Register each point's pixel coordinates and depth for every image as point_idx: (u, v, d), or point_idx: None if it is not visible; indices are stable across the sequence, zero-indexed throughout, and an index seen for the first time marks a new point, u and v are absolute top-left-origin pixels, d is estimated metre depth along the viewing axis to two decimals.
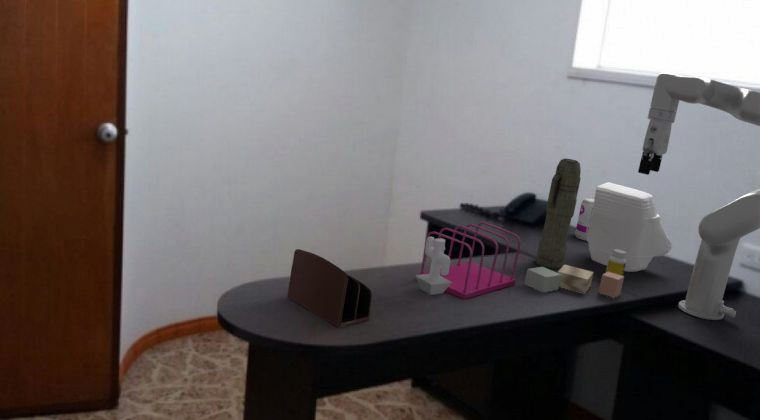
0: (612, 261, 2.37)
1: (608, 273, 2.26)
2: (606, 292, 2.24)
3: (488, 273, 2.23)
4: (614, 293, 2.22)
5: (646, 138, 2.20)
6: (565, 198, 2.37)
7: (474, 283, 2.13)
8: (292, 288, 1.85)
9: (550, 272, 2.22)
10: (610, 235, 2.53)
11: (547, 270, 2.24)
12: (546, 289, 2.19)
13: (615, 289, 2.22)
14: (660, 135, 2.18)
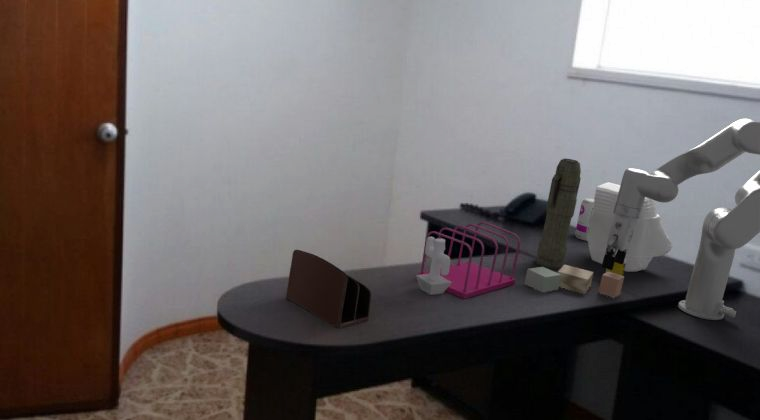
0: None
1: (608, 273, 2.26)
2: (606, 292, 2.24)
3: (488, 273, 2.24)
4: (614, 293, 2.22)
5: (611, 233, 2.18)
6: (565, 198, 2.37)
7: (474, 282, 2.13)
8: (291, 288, 1.85)
9: (550, 273, 2.22)
10: None
11: (547, 270, 2.24)
12: (546, 289, 2.19)
13: (615, 289, 2.22)
14: (624, 232, 2.16)
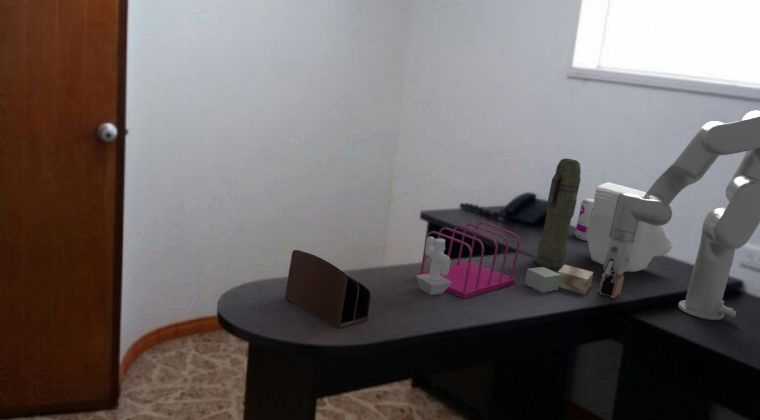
0: None
1: None
2: None
3: (487, 272, 2.24)
4: (614, 293, 2.22)
5: (607, 258, 2.20)
6: (565, 198, 2.37)
7: (474, 282, 2.14)
8: (290, 289, 1.85)
9: (550, 273, 2.22)
10: None
11: (547, 270, 2.24)
12: (546, 289, 2.19)
13: (615, 289, 2.22)
14: (620, 256, 2.18)
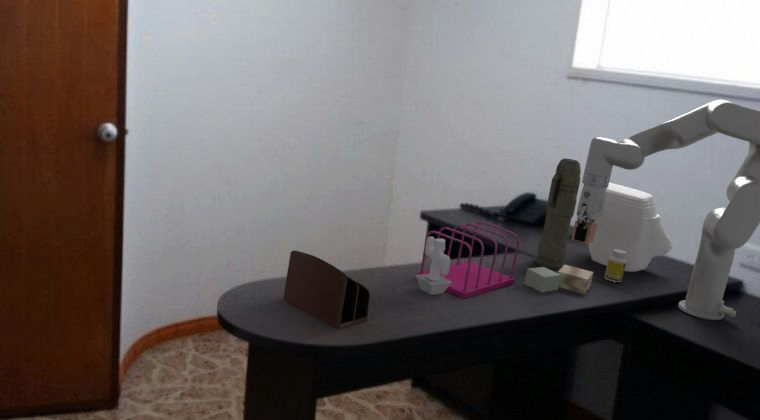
0: (612, 261, 2.37)
1: None
2: None
3: (487, 272, 2.24)
4: (587, 239, 2.21)
5: (580, 203, 2.18)
6: (565, 198, 2.37)
7: (474, 282, 2.14)
8: (288, 289, 1.84)
9: (550, 273, 2.22)
10: (610, 235, 2.53)
11: (547, 270, 2.24)
12: (545, 289, 2.19)
13: (588, 235, 2.21)
14: (593, 200, 2.16)
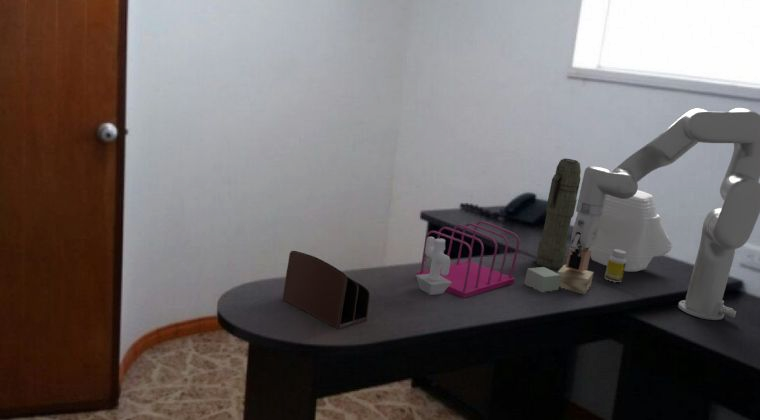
0: (612, 261, 2.37)
1: None
2: None
3: (487, 272, 2.24)
4: (581, 266, 2.23)
5: (574, 231, 2.21)
6: (565, 198, 2.37)
7: (473, 281, 2.14)
8: (288, 290, 1.84)
9: (550, 273, 2.22)
10: (610, 235, 2.53)
11: (548, 270, 2.24)
12: (545, 288, 2.19)
13: (582, 262, 2.23)
14: (586, 229, 2.18)
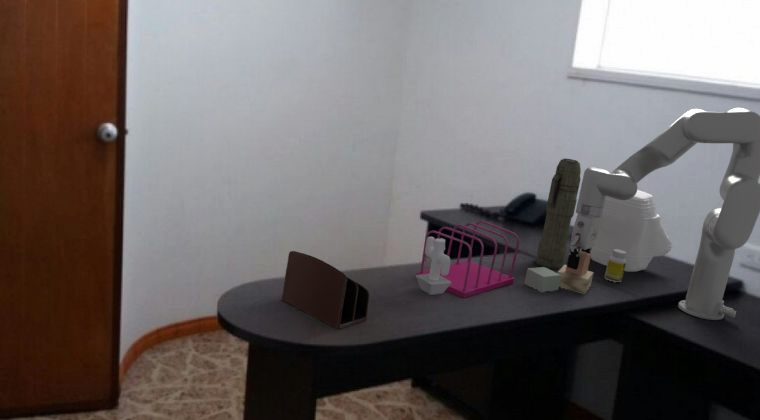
0: (612, 261, 2.37)
1: None
2: (573, 269, 2.25)
3: (487, 271, 2.25)
4: (581, 270, 2.23)
5: (573, 233, 2.21)
6: (565, 198, 2.37)
7: (473, 281, 2.14)
8: (287, 290, 1.84)
9: (550, 273, 2.22)
10: (610, 235, 2.53)
11: (548, 270, 2.24)
12: (545, 288, 2.19)
13: (582, 266, 2.23)
14: (586, 230, 2.18)
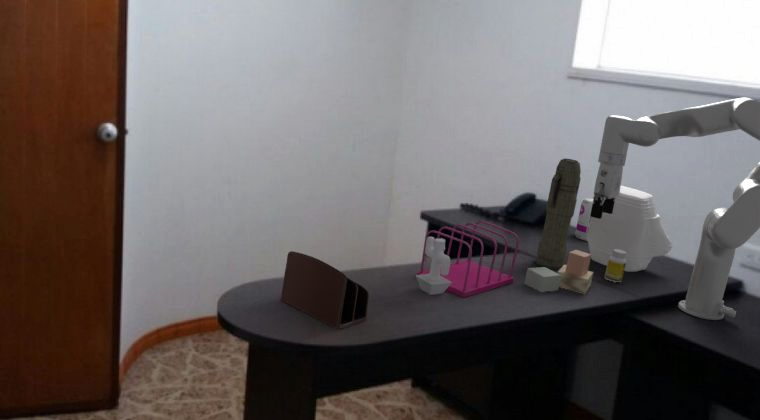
0: (612, 261, 2.37)
1: (575, 251, 2.27)
2: (573, 270, 2.25)
3: (487, 271, 2.25)
4: (581, 270, 2.23)
5: (597, 182, 2.17)
6: (565, 198, 2.37)
7: (473, 281, 2.14)
8: (286, 291, 1.83)
9: (550, 273, 2.22)
10: (610, 235, 2.53)
11: (548, 270, 2.24)
12: (545, 288, 2.19)
13: (581, 266, 2.23)
14: (610, 179, 2.15)
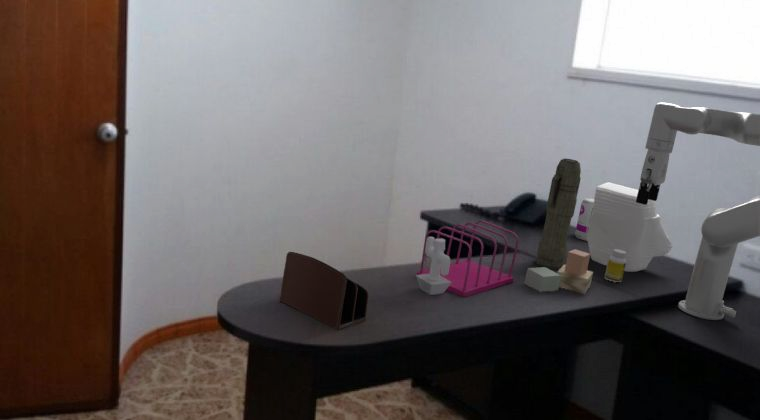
0: (612, 261, 2.37)
1: (574, 250, 2.27)
2: (572, 269, 2.25)
3: (486, 271, 2.25)
4: (580, 270, 2.23)
5: (644, 168, 2.19)
6: (565, 198, 2.37)
7: (473, 281, 2.15)
8: (285, 291, 1.83)
9: (550, 273, 2.22)
10: (610, 235, 2.53)
11: (548, 270, 2.24)
12: (544, 288, 2.19)
13: (581, 266, 2.23)
14: (657, 165, 2.17)
